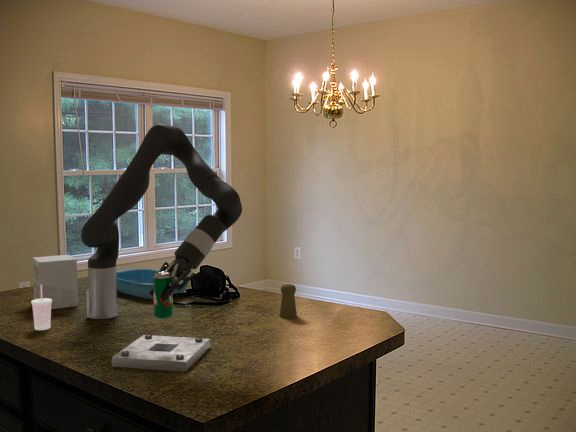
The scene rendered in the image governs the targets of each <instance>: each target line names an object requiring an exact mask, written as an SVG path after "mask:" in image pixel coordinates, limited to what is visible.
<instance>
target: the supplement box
mask: <svg viewBox="0 0 576 432" xmlns="http://www.w3.org/2000/svg"><path fill="white" fill-rule="evenodd" d="M77 262H78V259H77V258H75V257H73V256H71V255H70V254H59V255H58V254H57V255H47V256H33V257H32V274H33V275H32V277H33V278H32V279H33V280H32V281H33V300H34V299H40V298H41V287H40V285H42V298H50V299H52V303H51V310H56V309H65V308H73V307H78V306H79V292H78V287H79V286H78V285H79V284H78V263H77Z"/></svg>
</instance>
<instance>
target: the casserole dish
mask: <svg viewBox="0 0 576 432" xmlns="http://www.w3.org/2000/svg"><path fill="white" fill-rule="evenodd" d="M159 270H160V269H152V268H133V269H131V268H130V269H129V268H128V269H121V270H116V274H117V292H118V293H123V294H125V295H129V296H132V295H133V297H137V298H141V299H145V300H151V301H152V300H153V297H152V296H151V295H150V294H149V292H150V290H151V289H152V288H153V277H154V273H157V272H159ZM182 283H183V282H182ZM188 284H189V282H188V283H187V284H186V285H185V286H184V287H183V288H182V289H181V290H178V289H177V290H176V291H173V294H177V293H182V294H184V292H185V291H186V289H187V287H188ZM180 285H181V284H180Z"/></svg>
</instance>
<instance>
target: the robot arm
mask: <svg viewBox="0 0 576 432" xmlns="http://www.w3.org/2000/svg"><path fill="white" fill-rule="evenodd" d="M161 155H167V156H173V157H175V158H176V159H177V160H178V161H180V162H181V163H182V164H183V165H184V166H185V169H186V172H187V176H188V178H189V180H190V182H191V183H192V185H194V187H195V188H196V189H197V190H198V191H199V192H200V193H201V194H202V195H203V196H204V197H205V198H206V199H210V200H212V201H213V203H214V204H215V205H216V207H217V208H216V209H217V210H216V211H215V212H214V213H213V214H207V215H205V216H204V217H203V218H202V219H201V220H200V222H198V224H197V225H196V226H195V228H194V229H193V230H191V232H189V234H188V235H187V236H186V237H185V239H183V241H182V242H181V243H180V245H179V247H177V249H176V250H175V251H174V256H175V259H174V260H172V261H171V262H170V263H168V262H167V261H164V262H163V264H162V265H161V267H160V269H158V270H159V272H170V273H171V276H170V277H171V280H170V282H169V284H168V286H166V287H165V289H164V290H163V291H162V293H161V294H160V295H159V298H160V299H161V300H162V301H166V300H167V299H168V298H169V296H170V295H171V294H172V292H173V291H176V290H177V289H178V290H181V289H182V288H183V287H184V286H185V285H186V284H187V283H188V284H189V282H190V281H191V280H192V279H193V277H195V275H196V273H195V272H194V271H193V270H197V269H198V268H199V266H200V265H201V263H202V262H203V261H204V260H205V258H206V257H207V256H208V255H209V253H210V251H211V250H212V248H213V247H214V246H215V244H216V242H217V241H218V240H219V239H220V237H221V236H222V235H223V233H224V232H225V231H227V230H228V229H229V228H230V227H232V226H233V225H234V224H235V223H237V222H238V220H239V219H240V217H241V215H242V212H243V206H242V202H241V198H240V195H239V193H238V192H237V190H236V189H235V188H233V187H232V186H231V185H230V184H229V183H228V182H225V181H224V180H222V179H221V177H220V176H219V175H217V173H215V171H214V170H213V169H212V168H211V167H210V166H209V165H208V164H207V163H206V161H204V159H203V158H202V157H201V156H200V154H199V153H198V151H197V150H196V148H195V147H194V145H193V144H192V142H191V140H190V139H189V138H188V136H187V135H186V134H185V132H184V130H182V129H181V128H179V127H178V126H175V125H171V124H164V123H156V124H154V125H152V126H151V127H150V128H149V130H147V132H146V134H145V136H144V137H143V140H142V142H141V144H140V146H139V147H138V149H137V151H136V153H135V155H134V156H133V157H132V159H131V161H130V163H128V165H127V167H126V169H125V170H124V172H123V173H122V174H121V175H120V177H119V178H118V180H117V181H116V182H115V184H114V185H113V187H112V188H111V190H110V192H109V193H108V195H106V197H105V199H104V200H103V201H102V203H101V204H100V206H99V207H98V208H97V210H96V211H95V212H94V213H93V214H92V215H91V216H90V217H89V218H88V219H87V221H86V222H85V223H84V225H83V227H82V229H81V234H80V237H81V242H82V244H84V245H85V246H86V247H88V248H94V249H95V248H97V249H96V251H95V252H94V253H93V255H91V256H90V257H89V258H88V259H87V280H88V283H87V285H88V288H86V290H85V299H86V301H85V302H86V303H85V304H86V318H87V319H88V318H89V319H92V320H93V319H94V320H107V319H112V318H115V317H117V316H118V291H117V274H116V271H117V262H118V261H117V260H118V258H119V253H120V252H119V245H120V233H119V226H118V225H117V223H116V222H115V221H117V220H118V219H119V218H121V217H122V216H123V215H125V214H126V213H127V212H129V211H130V210H132V209H133V208H134V207H136V206H137V205H138V203H139V202H140V201H141V199H142V198H143V197H144V195H145V194H146V192H147V190H148V189H149V186H150V177H151V176H150V175H151V174H150V172H151V169H152V167H153V165H154V163H155V162H156V161H157V160H158V159H159V157H160V156H161ZM182 282H183V283H182ZM180 284H181V285H180ZM188 284H187V285H188ZM149 294H150V295H151V296H152V297H153V288H152V289H151V290H150V292H149Z"/></svg>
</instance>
